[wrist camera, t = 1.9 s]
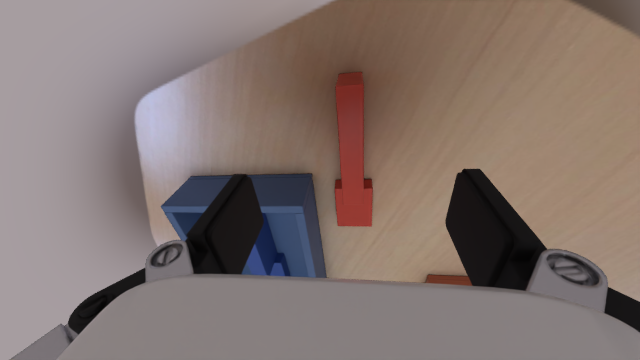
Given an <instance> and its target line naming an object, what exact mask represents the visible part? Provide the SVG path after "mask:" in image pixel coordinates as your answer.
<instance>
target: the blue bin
mask: <svg viewBox="0 0 640 360" xmlns="http://www.w3.org/2000/svg"><path fill="white" fill-rule="evenodd" d="M247 176H248V177H250V178H251V179H252V182H253V185H254V189H255V192H256V195H257V198H258V202H259V205H260V208H261V211H262V213H265V214H266V217H267V220H268V224H269V227H270V230H271V233H272V237H273V240H274V243H275V246H276V250H277V253H284V255H285V258H286V262H287V265H288V269H289V272H290V277H312V278H327V277H326V270H325V263H324V257H323V250H322V243H321V236H320V229H319V222H318V215H317V208H316V202H315V195H314V188H313V181H312V174H281V175H247ZM231 177H232V176H191V177H190V178H189V179H188V180H187V181H186V182H185V183H184V184H183V185H182V186H181V187H180V188H179V189H178V190H177V191H176V192H175V193H174V194H173V195H172V196H171V197H170V198H169V199H168V200H167V201H166V202H165V203H164V204H163V205H162V206H161V208H162V209H163V211H164V212H165V215H166V216H167V218H168V219H169V221H170V223H171V224H172V226H173V227H174V229H175V231H176V232H177V234H178V236H179V237H180V239H181V240H183V241H184V242H185V240H186V239H187V238H188V237H187V235H186V234H187V233H188V232H189V231H190V229H191V228H192V227H193V226H194V224H195V223H196V222H197V220H198V219H199V218H200V217H201V215H202V214H203V213H204V212H205V210H206V209H207V208H208V206H209V205H210V204H211V203H212V201H213V200H214V199H215V198H216V196H217V195H218V194H219V192H220V191H221V190H222V189H223V187H224V186H225V185H226V184H227V182H228V181H229V180H230V178H231ZM241 275H252V273H251V271H250V268H249V266H248V264H247V262H246V265H245V267H244V269H243V271H242V274H241Z"/></svg>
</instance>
